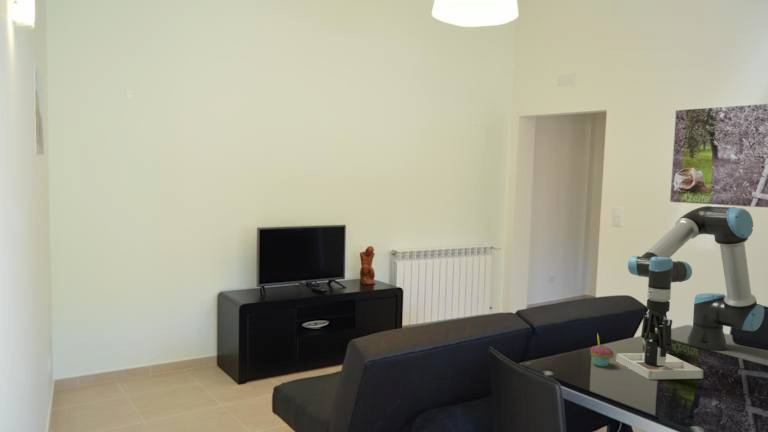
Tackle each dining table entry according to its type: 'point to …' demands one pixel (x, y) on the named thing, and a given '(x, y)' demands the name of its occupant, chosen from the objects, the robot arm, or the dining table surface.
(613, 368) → the dining table surface
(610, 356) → the cupcake
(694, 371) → the organiser
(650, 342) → the supplement bottle
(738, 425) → the dining table surface
